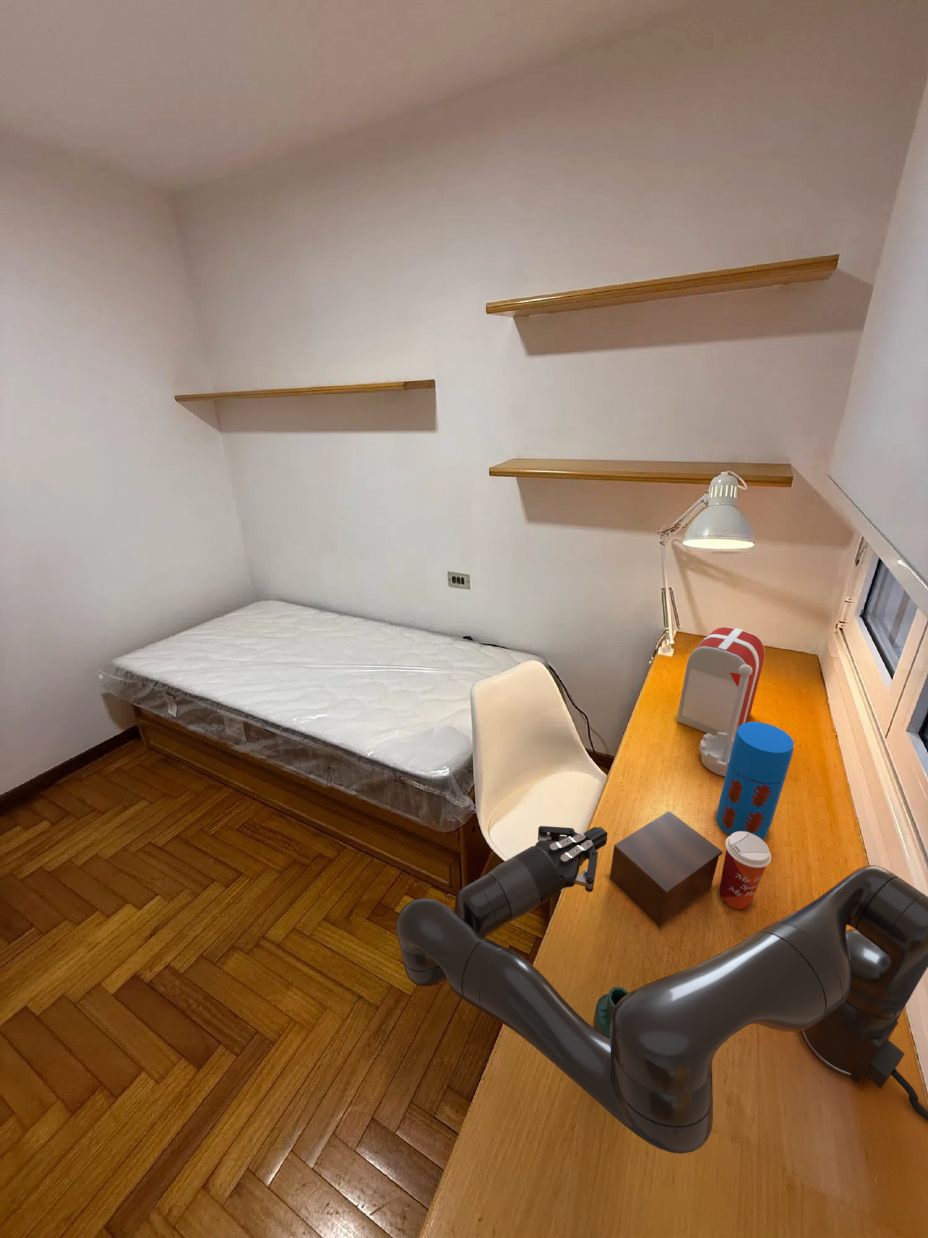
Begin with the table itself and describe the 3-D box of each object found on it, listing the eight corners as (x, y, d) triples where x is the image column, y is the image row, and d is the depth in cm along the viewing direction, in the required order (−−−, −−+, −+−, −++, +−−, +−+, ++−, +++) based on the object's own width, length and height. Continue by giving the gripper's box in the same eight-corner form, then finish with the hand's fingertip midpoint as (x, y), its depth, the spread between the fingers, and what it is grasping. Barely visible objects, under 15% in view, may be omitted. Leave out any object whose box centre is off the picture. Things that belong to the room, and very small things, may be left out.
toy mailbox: (675, 720, 156) (689, 640, 144) (696, 695, 168) (710, 620, 156) (733, 743, 145) (753, 659, 134) (751, 715, 157) (771, 635, 146)
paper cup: (732, 919, 98) (747, 867, 92) (704, 884, 105) (717, 834, 99) (766, 908, 100) (783, 856, 94) (737, 875, 107) (751, 825, 101)
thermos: (774, 847, 113) (803, 756, 103) (721, 840, 115) (744, 750, 105) (759, 810, 123) (784, 724, 112) (710, 804, 125) (730, 719, 114)
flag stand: (762, 776, 133) (790, 676, 121) (715, 783, 131) (739, 681, 119) (730, 745, 145) (753, 650, 132) (687, 750, 143) (706, 655, 131)
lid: (668, 813, 111) (668, 810, 111) (722, 854, 101) (722, 851, 101) (613, 847, 103) (614, 844, 103) (666, 895, 93) (666, 892, 93)
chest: (659, 845, 114) (665, 815, 111) (711, 887, 104) (719, 856, 101) (609, 878, 107) (613, 847, 103) (659, 927, 97) (666, 895, 93)
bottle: (639, 1065, 78) (652, 1005, 71) (610, 1092, 75) (621, 1033, 68) (609, 1027, 82) (619, 968, 76) (581, 1051, 79) (588, 992, 73)
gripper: (496, 869, 85) (574, 824, 93) (549, 935, 74) (632, 878, 83) (496, 835, 82) (577, 792, 90) (552, 899, 71) (638, 844, 80)
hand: (603, 833), depth 86 cm, fingers closed
